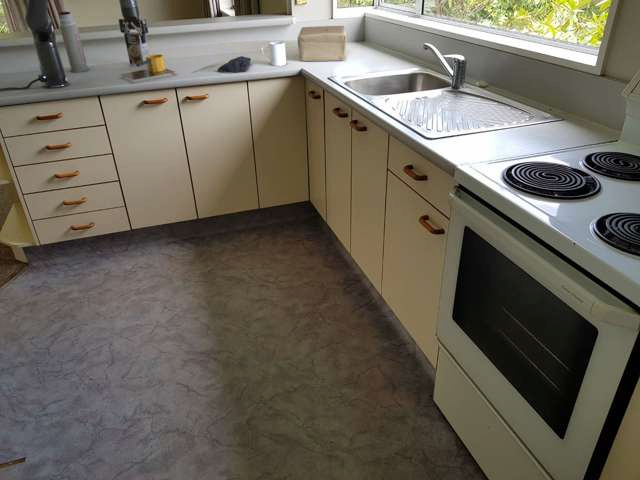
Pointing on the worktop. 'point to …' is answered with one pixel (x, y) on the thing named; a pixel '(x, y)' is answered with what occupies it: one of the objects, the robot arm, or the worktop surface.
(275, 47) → the mug
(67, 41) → the thermos bottle
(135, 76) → the board
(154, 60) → the pot
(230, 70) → the dark slate chunk
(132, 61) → the coffee box
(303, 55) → the paper package
